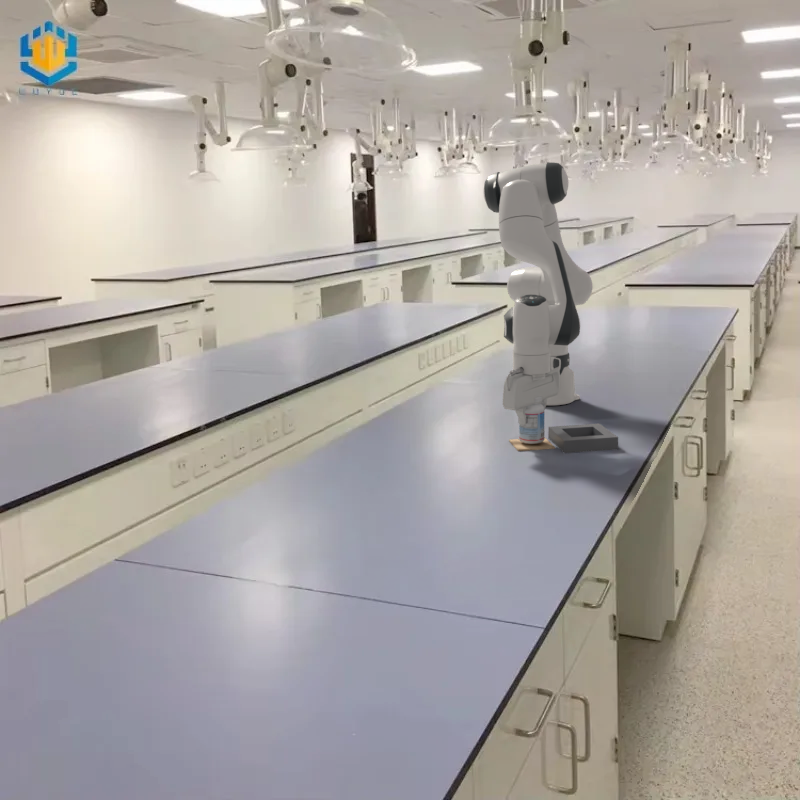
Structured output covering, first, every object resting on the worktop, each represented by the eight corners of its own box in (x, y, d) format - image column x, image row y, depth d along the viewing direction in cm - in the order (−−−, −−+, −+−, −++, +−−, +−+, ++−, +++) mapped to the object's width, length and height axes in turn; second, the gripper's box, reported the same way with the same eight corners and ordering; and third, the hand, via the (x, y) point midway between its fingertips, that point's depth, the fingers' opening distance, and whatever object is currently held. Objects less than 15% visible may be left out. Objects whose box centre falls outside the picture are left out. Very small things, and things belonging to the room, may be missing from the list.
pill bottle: (533, 436, 212) (533, 392, 210) (549, 441, 207) (550, 396, 204) (513, 440, 209) (513, 395, 207) (529, 445, 204) (530, 399, 201)
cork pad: (509, 441, 212) (509, 439, 212) (544, 438, 213) (544, 437, 213) (518, 451, 203) (518, 449, 203) (555, 448, 204) (555, 447, 204)
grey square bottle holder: (548, 438, 213) (548, 426, 212) (599, 435, 214) (599, 423, 214) (564, 453, 200) (564, 440, 200) (617, 449, 202) (618, 437, 201)
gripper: (518, 373, 194) (519, 432, 197) (564, 358, 209) (564, 413, 212) (495, 370, 198) (496, 428, 201) (542, 356, 213) (542, 410, 216)
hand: (531, 420), depth 207 cm, fingers closed on pill bottle, 6 cm apart
